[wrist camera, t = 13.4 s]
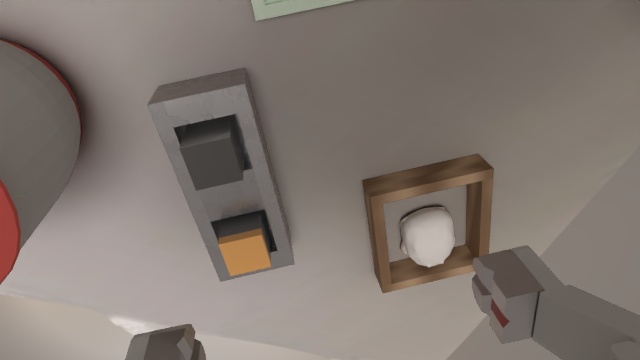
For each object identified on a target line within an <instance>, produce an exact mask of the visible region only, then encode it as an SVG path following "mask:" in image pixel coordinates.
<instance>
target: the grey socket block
mask: <svg viewBox="0 0 640 360" xmlns="http://www.w3.org/2000/svg"><path fill="white" fill-rule="evenodd" d="M147 106H148V109H149V111H150V113H151V116H152V118H153V121H154V123H155V125H156V128H157V130H158V133H159V135H160V137H161V140H162V142H163V145H164V147H165V149H166V152H167V154H168V157H169V159H170V161H171V164H172V166H173V169H174V171H175V173H176V176H177V178H178V181H179V183H180V185H181V188H182V190H183V193H184V195H185V197H186V200H187V202H188V205H189V207H190V209H191V212H192V214H193V217H194V219H195V221H196V224H197V226H198V229H199V231H200V233H201V236H202V238H203V241H204V243H205V246H206V248H207V250H208V253H209V255H210V258H211V260H212V262H213V265H214V267H215V270H216V272H217V274H218V277H219V279H220V282H221V281H225V280H230V279H234V278H238V277H242V276H246V275H251V274H255V273H259V272H263V271H268V270H272V269H276V268H280V267H285V266H289V265H293V264H294V257H293V250H292V243H291V236H290V232H289V229H288V225H287V221H286V217H285V214H284V210H283V206H282V203H281V199H280V195H279V191H278V188H277V184H276V180H275V177H274V173H273V169H272V165H271V162H270V158H269V154H268V151H267V147H266V143H265V139H264V136H263V132H262V128H261V125H260V121H259V117H258V113H257V110H256V106H255V102H254V99H253V95H252V91H251V88H250V84H249V80H248V76H247V73H246V69H245V68H241V69H236V70H232V71H227V72H222V73H218V74H213V75H208V76H204V77H199V78H194V79H190V80H185V81H181V82H176V83H171V84H167V85H162V86H158V88H157V90H156V91H155V93H154V95H153V96H152V98H151V99H150V101H149V103H148V104H147ZM232 114H235V117H236V120H237V123H238V127H239V130H240V133H241V136H242V140H243V143H244V167H243V180H241V181H237V182H233V183H228V184H224V185H219V186H215V187H211V188H206V189H202V190H197V191H196V189H195V187H194V184H193V182H192V179H191V177H190V174H189V172H188V169H187V167H186V164H185V162H184V159H183V157H182V154H181V152H180V149H179V148H180V145H181V142H182V139H183V136H184V133H185V130H186V127H187V124H191V123H196V122H200V121H205V120H210V119H214V118H219V117H223V116H228V115H232ZM263 209H264V211H265V214H266V217H267V221H268V225H269V238H270V252H271V266H272V267H268V268H264V269H260V270H256V271H251V272H247V273H243V274H239V275H234V276H230V273H229V271H228V268H227V266H226V263H225V261H224V258H223V256H222V253H221V250H220V248H219V245H218V243H219V232H220V222H221V219H224V218H228V217H232V216H237V215H241V214H245V213H250V212H254V211H259V210H263Z"/></svg>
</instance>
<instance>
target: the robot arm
mask: <svg viewBox="0 0 640 360" xmlns="http://www.w3.org/2000/svg"><path fill="white" fill-rule="evenodd" d="M472 268H473V269H474V271H475V272H476V274H475V276H474V277H473V278H472V289H473V293H474V297H475V299H476V302H477V304H478V306H479V307H480V309H481V311H482V312H484V313H486V314H488V315H489V316H490V326H491V327H492V329H493V331H494V332H495V334H496V336H497V337H498V339H499V340H500V342H501V343H502V344H504V343H509V342H514V341H519V340H523V339H529V338H532V339H533V340H534V341H535V342H537V343H539V344H540V345H541V346H543V347H544V348H546V349H547V350H549V351H550V352H552V353H553V354H555V355H556V356H558V357H559V358H560V359H562V360H640V315H637V314H635V313H633V312H631V311H628V310H626V309H624V308H621V307H619V306H617V305H615V304H612V303H610V302H608V301H606V300H603V299H601V298H599V297H597V296H594V295H592V294H590V293H587V292H585V291H583V290H581V289H578V288H576V287H574V286H571V285H567V286H564V285H563V283H562V282H561V281H560V280H559V279H558V278H557V277H556V276H555V275H554V273H553V272H552V271H551V270H550V269H549V268H548V267H547V266H546V264H545V263H544V262H543V261H542V260H541V259H540V258H539V257H538V256H537V254H536V253H535V252H534V251H533V250H532V249H531V248H530V247H529V246H527V245H525V246H521V247H517V248H512V249H509V250H503V251H499V252H495V253H491V254H487V255H483V256H479V257H475V258H474V260H473V266H472ZM194 337H195V330H194V328H193V327H192V325H191V324H185V325H180V326H175V327H170V328H165V329H160V330H155V331H152V332H147V333H142V334H137V335H135V336H134V337H133V339H132V340H131V343H130V346H129V349H128V352H127V356H126V359H125V360H206V355H205V351H204V348H203V346H202V344H201V342H200V341H198V340H196V339H194Z"/></svg>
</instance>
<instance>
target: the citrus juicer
mask: <svg viewBox="0 0 640 360" xmlns="http://www.w3.org/2000/svg"><path fill="white" fill-rule="evenodd" d="M81 136H82V125H81V116H80V111H79V108H78V105H77V101H76V98H75V96H74V94H73V92H72V90H71V88H70V87H69V85H68V83H67V82H66V81H65V80H64V78H63V77H62V76H61V75H60V73H59V72H58V71H57V70H56V69H55V68H53V67H52V66H51V65H50V64H49V63H48V62H47V61H45V60H44V59H42V58H41V57H39V56H38V55H37V54H35V53H34V52H32V51H30V50H27V49H25V48H23V47H21V46H19V45H17V44H15V43H12V42H9V41H6V40H3V39H0V284H1V283H2V282H3V280H4V279H5V278H6V277H7V275H8V274H9V273H10V272H11V271H12V269H13V267H14V264H15V262H16V259H17V257H18V254H19V252H20V249H21V248H22V247H23V245H24V244H25V243H26V241H27V240H28V239H29V237H30V236H31V234H32V233H33V232H34V230H35V229H36V228H37V226H38V225H39V224H40V222H41V221H42V220H43V218H44V217H45V215H46V214H47V213H48V211H49V210H50V209H51V207H52V206H53V205H54V203H55V202H56V200H57V199H58V198H59V196H60V195H61V193H62V191H63V190H64V188H65V186H66V185H67V183H68V181H69V178H70V176H71V174H72V171H73V169H74V166H75V163H76V160H77V157H78V151H79V146H80V142H81Z"/></svg>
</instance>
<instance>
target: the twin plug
mask: <svg viewBox="0 0 640 360" xmlns="http://www.w3.org/2000/svg"><path fill="white" fill-rule="evenodd" d="M179 149H180V152H181V154H182V157H183V159H184V162H185V164H186V167H187V169H188V172H189V174H190V177H191V179H192V182H193V184H194V187H195V189H196V191H197V190H202V189H206V188H211V187H215V186H219V185H224V184H228V183H233V182H237V181H241V180H243V167H244V143H243V140H242V136H241V133H240V130H239V127H238V123H237V120H236V117H235V114H232V115H228V116H223V117H219V118H214V119H210V120H205V121H200V122H196V123H191V124H187V127H186V130H185V133H184V136H183V139H182V142H181V145H180V148H179Z"/></svg>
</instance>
